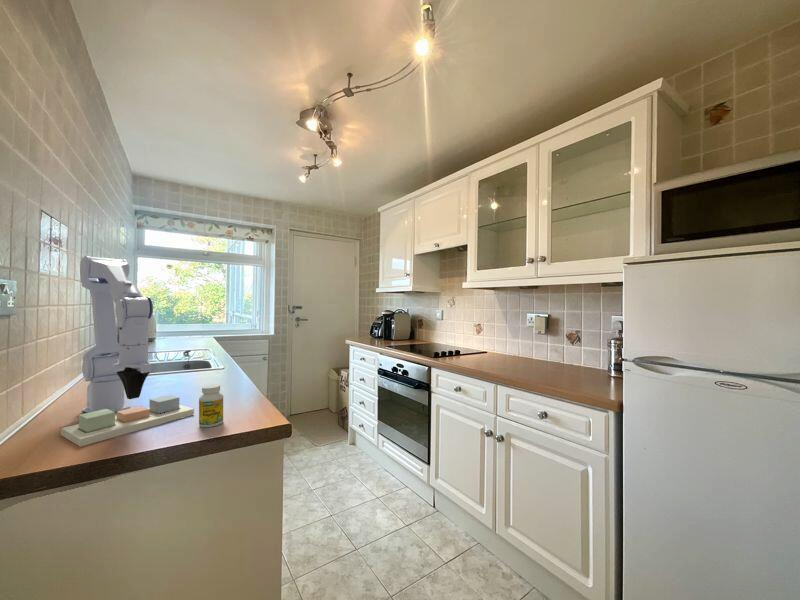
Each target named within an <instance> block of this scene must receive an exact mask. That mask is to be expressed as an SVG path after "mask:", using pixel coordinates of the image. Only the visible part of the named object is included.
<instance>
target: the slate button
mask: <svg viewBox="0 0 800 600" xmlns="http://www.w3.org/2000/svg"><path fill="white" fill-rule="evenodd" d="M179 404H180V397H179V396H177V395H172V394H167V395H164V396H158V397H153V398H150V399H149V406H148V408H149V409H150V411H152V412H155V413H158V414H159V413H161V414H162V413H163V412H165V413H166V412H167V411H169V412H170V411H171V410H175V409H179ZM158 414H157V415H158Z"/></svg>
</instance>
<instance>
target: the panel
mask: <svg viewBox="0 0 800 600" xmlns="http://www.w3.org/2000/svg"><path fill="white" fill-rule="evenodd" d="M147 408H148V409H149V407H147ZM193 414H194V415H195V408H192V407H189V406H186V405H182V404H180V403H179V409H175V410H171V411H169V412H165V413H164V412H163V413H161V414H160V413H159V414H158V413H155V412H152V411H150V417H147V418H143V419H139V420H135V421H131V422H127V423H123V422H120V421H118V420H117V414H115V425H113V426H109V427H105V428H101V429H97V430H93V431H89V432H86V431H84V430H82V429H80V428H79V423H78V424H74V425H69V426H65V427H61V428H60V430H61V431H60V432H61V436H62V437H64V438H65V439H66V440H68V441H70V442H72V443H74V444H75V445H77V446H79V447H80V448H81V447H84V446H88V445H91V444H95V443H98V442H102V441H105V440H109V439H112V438H116V437H120V436H123V435H127V434H131V433H135V432H138V431H140V430H144V429H147V428H151V427H155V426H158V425H162V424H166V423H168V421H170V422H172V420H173V421H175V419H177V420H180V419H182V417H184V418H187V417H190V416H189V415H191V416H194V415H193ZM186 416H187V417H186ZM179 418H180V419H179ZM165 422H166V423H165Z"/></svg>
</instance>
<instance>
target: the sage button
mask: <svg viewBox="0 0 800 600" xmlns="http://www.w3.org/2000/svg"><path fill="white" fill-rule="evenodd" d="M115 415H116V411H115V412H113V411H111V410H108V409H103V410H99V411H94V412H89V413H87V412H85V413H81V414H78V424H79V428H80V429H82V430H84V431H86V432H87V433H89V431H91V432H93V430H95V431H96V430H97V429H99V430H100V429H101V428H103V429H104V428H105V427H107V428H108V427H109V426H113V425H115Z"/></svg>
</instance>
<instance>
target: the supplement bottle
mask: <svg viewBox="0 0 800 600" xmlns="http://www.w3.org/2000/svg"><path fill="white" fill-rule="evenodd" d="M220 391H221V384H208V385H207V384H206V385H204V386H202V388H201V392H202V395H200V396H199V398H198V425H199V427H200V426H201V427H200V428H204V427H206V428H213V426H214V427H217V426H219V425H221V424H223V423H224V394H223V393H222V392H220Z"/></svg>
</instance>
